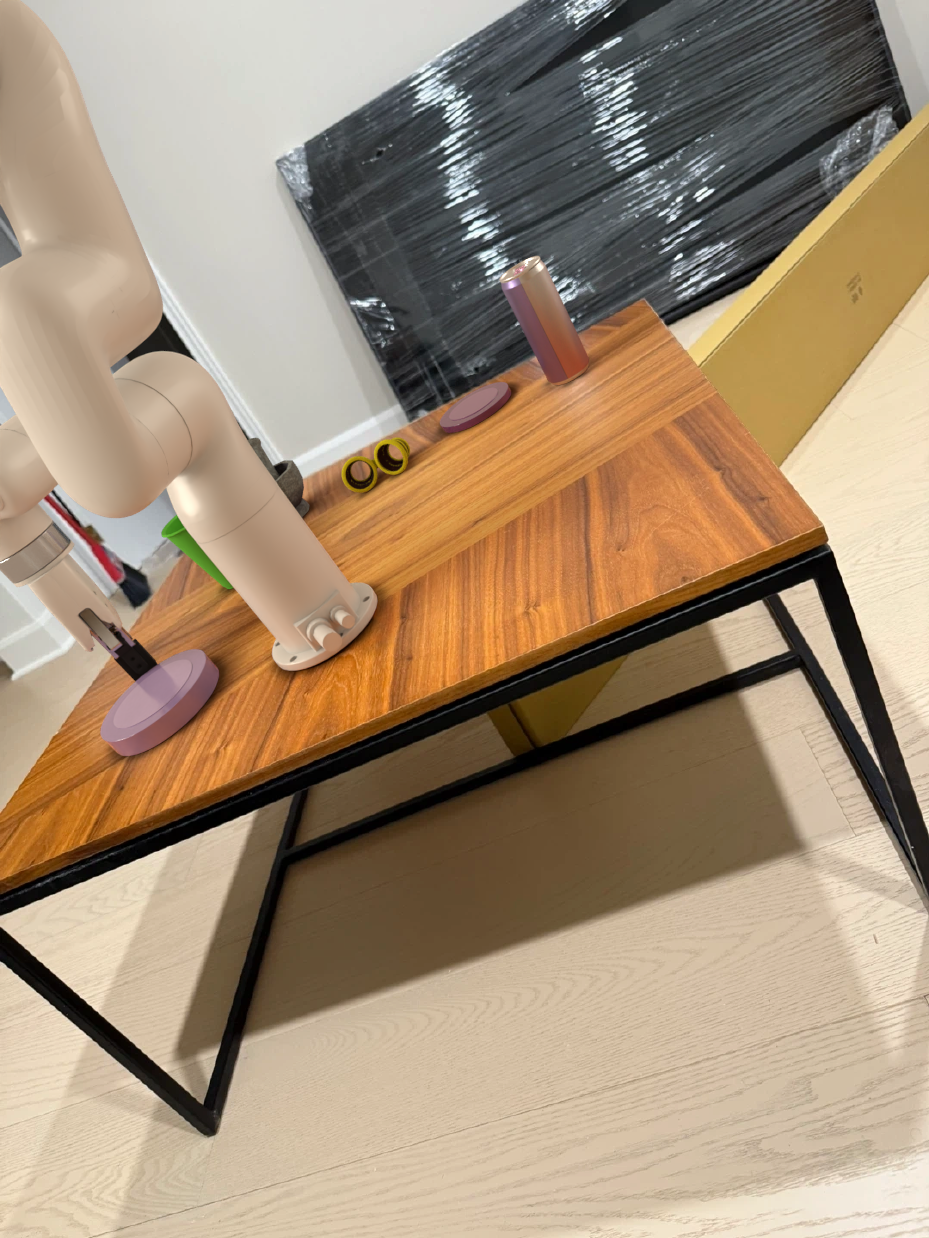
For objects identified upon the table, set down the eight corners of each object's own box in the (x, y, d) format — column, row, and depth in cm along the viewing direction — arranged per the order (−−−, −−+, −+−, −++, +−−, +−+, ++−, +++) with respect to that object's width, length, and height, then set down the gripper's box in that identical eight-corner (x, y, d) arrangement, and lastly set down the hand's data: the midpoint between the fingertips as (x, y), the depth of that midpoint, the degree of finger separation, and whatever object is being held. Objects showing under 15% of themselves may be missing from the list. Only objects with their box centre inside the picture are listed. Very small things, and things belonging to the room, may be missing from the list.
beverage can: (548, 392, 109) (495, 286, 102) (551, 375, 114) (500, 272, 106) (590, 373, 106) (539, 263, 99) (592, 356, 111) (542, 250, 104)
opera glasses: (418, 459, 118) (400, 427, 116) (414, 466, 113) (395, 434, 111) (359, 490, 120) (341, 460, 118) (353, 500, 115) (334, 468, 113)
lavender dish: (232, 685, 89) (218, 669, 88) (124, 775, 86) (107, 759, 85) (204, 650, 101) (190, 635, 100) (107, 728, 98) (93, 713, 97)
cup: (253, 586, 109) (200, 520, 104) (203, 607, 113) (149, 544, 108) (277, 548, 116) (228, 484, 111) (229, 568, 120) (179, 508, 115)
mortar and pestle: (316, 515, 118) (265, 445, 113) (261, 547, 120) (209, 479, 114) (321, 486, 128) (275, 420, 122) (270, 515, 130) (222, 451, 124)
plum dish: (525, 388, 115) (521, 381, 114) (466, 435, 112) (462, 429, 112) (486, 387, 124) (483, 381, 124) (430, 430, 122) (427, 424, 121)
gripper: (5, 562, 96) (113, 673, 105) (6, 591, 84) (129, 715, 93) (61, 523, 98) (162, 635, 107) (70, 546, 85) (185, 671, 94)
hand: (147, 672), depth 100 cm, fingers closed
